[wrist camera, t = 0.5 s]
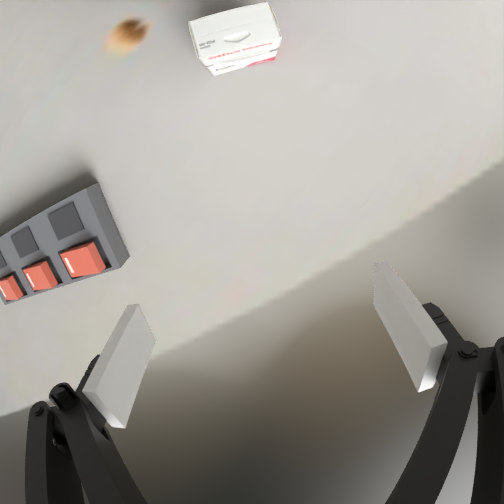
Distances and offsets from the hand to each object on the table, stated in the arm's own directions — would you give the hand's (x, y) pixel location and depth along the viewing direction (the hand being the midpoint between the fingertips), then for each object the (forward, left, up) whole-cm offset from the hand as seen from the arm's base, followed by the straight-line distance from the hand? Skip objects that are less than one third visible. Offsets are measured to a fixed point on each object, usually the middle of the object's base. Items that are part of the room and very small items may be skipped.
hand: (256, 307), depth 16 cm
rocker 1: (+1, -51, -23) cm, 56 cm away
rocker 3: (+1, -28, -23) cm, 36 cm away
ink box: (-19, +4, -28) cm, 34 cm away
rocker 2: (+1, -40, -23) cm, 46 cm away
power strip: (-2, -44, -28) cm, 52 cm away
